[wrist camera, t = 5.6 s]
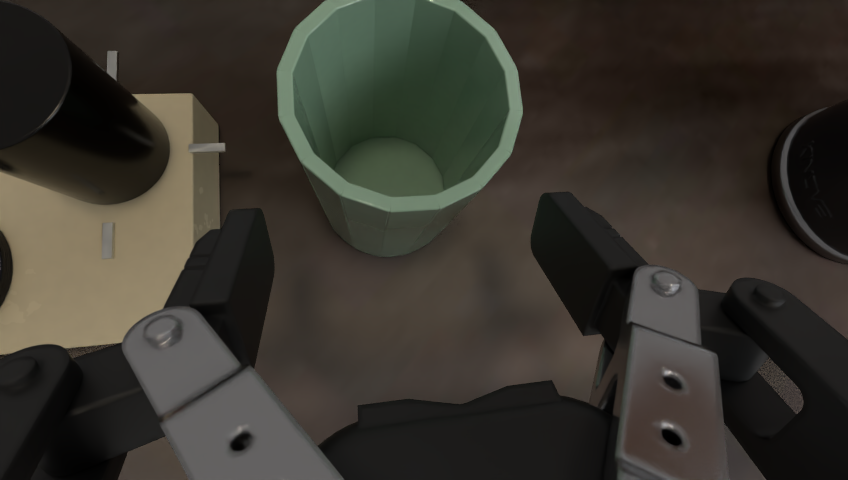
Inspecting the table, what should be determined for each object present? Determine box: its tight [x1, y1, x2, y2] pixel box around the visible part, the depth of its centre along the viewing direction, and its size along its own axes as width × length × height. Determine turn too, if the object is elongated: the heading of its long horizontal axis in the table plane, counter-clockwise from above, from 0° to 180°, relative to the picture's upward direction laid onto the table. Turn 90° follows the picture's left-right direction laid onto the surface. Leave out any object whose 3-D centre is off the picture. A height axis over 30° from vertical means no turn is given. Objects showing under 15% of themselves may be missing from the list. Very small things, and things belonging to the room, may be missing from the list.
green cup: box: [276, 0, 523, 257], centre depth 15 cm, size 6×6×10 cm
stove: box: [0, 51, 226, 355], centre depth 17 cm, size 13×12×3 cm
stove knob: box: [0, 1, 170, 205], centre depth 13 cm, size 4×4×6 cm
